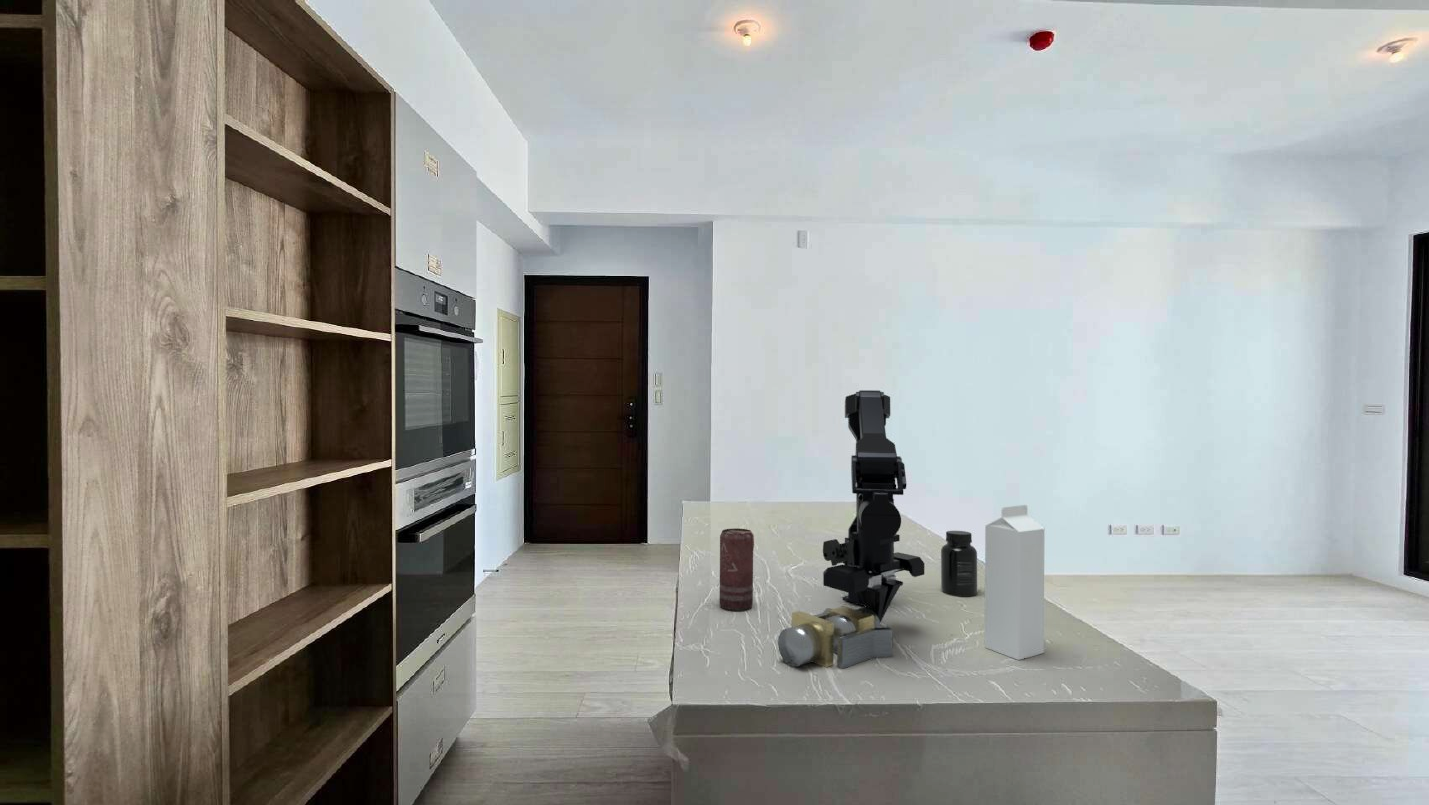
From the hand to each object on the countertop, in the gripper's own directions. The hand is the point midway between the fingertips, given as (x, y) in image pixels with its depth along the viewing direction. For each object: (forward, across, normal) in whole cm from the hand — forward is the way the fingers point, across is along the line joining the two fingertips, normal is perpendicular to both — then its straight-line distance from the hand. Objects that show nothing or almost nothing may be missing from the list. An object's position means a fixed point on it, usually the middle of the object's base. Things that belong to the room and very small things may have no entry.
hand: (875, 625), depth 106 cm
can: (+2, +7, -26) cm, 27 cm away
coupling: (+2, +11, 0) cm, 11 cm away
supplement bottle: (+2, -35, -7) cm, 36 cm away
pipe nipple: (+2, +6, 0) cm, 6 cm away
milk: (+2, -13, +16) cm, 21 cm away
